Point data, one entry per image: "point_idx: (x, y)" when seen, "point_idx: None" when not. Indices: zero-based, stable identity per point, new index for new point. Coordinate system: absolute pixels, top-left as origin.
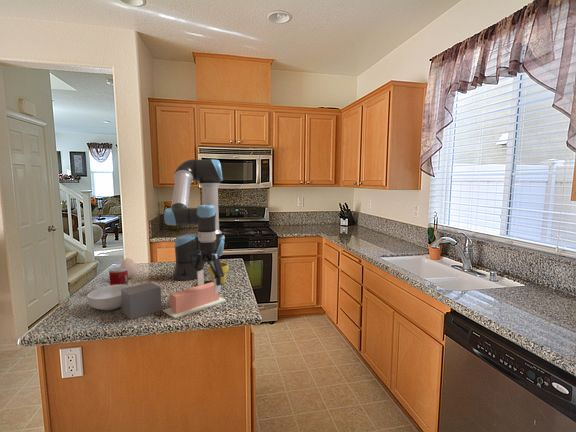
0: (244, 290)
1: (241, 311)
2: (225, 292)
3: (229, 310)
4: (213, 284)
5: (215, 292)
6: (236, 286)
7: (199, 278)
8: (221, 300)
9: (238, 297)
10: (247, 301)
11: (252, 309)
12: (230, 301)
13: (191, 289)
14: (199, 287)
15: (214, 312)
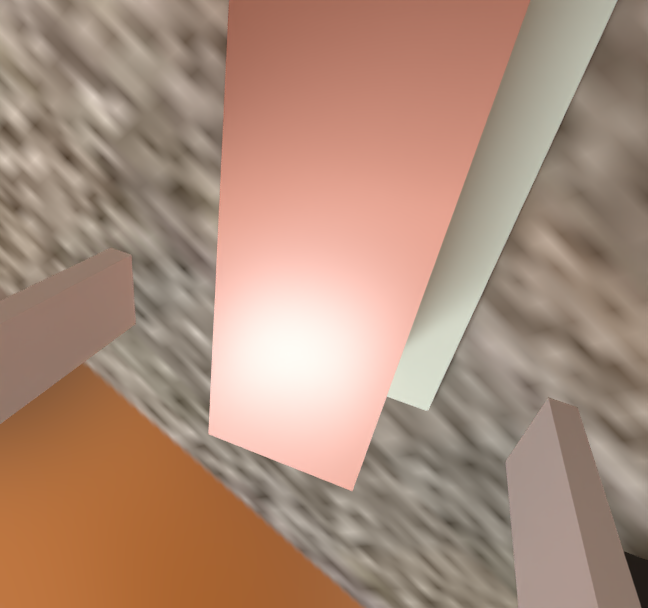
0: (290, 520)
1: (20, 226)
2: (385, 474)
3: (82, 198)
4: (260, 418)
5: (103, 252)
6: (393, 571)
7: (557, 516)
8: None
9: None
10: (132, 378)
11: (11, 284)
12: None
13: (386, 53)
14: (331, 240)
15: (124, 93)
